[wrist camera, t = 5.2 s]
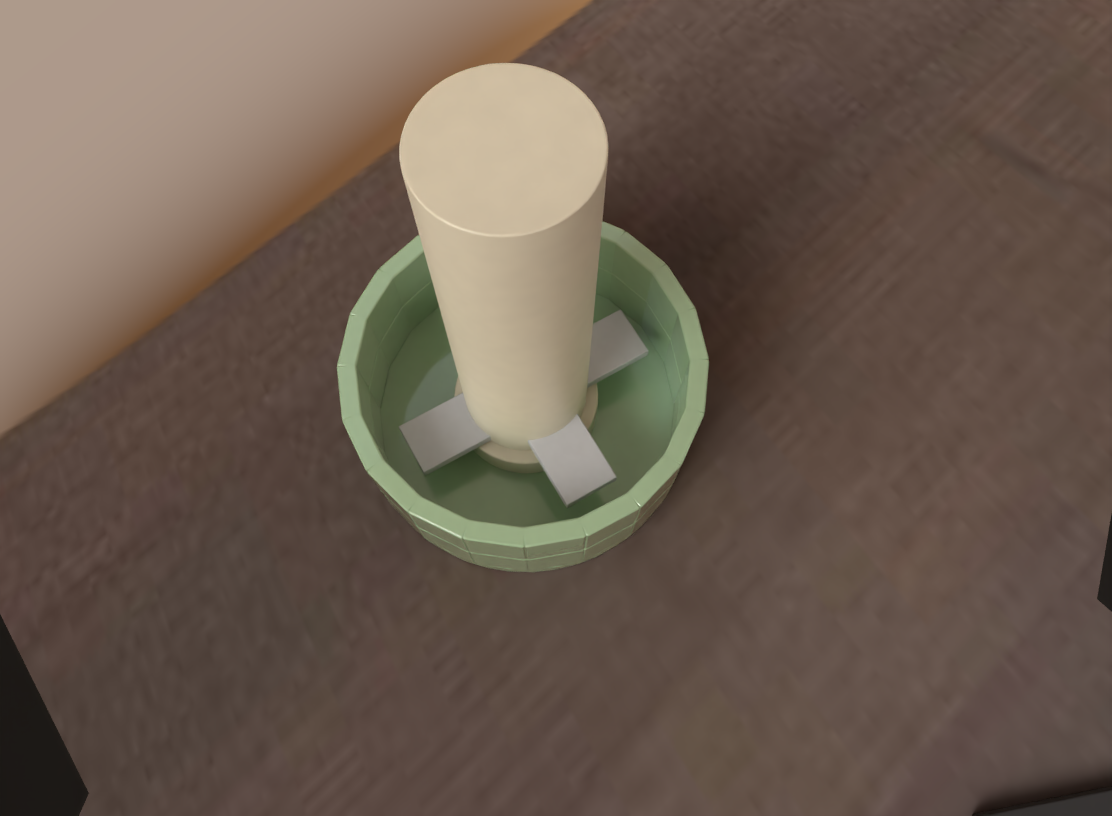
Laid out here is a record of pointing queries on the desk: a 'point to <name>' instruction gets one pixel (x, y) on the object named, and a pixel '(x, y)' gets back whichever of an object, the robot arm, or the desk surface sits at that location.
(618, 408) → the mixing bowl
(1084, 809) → the mat
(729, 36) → the desk surface
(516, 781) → the desk surface
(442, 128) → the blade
